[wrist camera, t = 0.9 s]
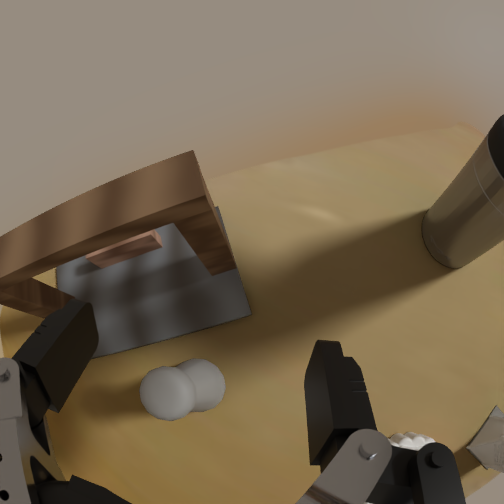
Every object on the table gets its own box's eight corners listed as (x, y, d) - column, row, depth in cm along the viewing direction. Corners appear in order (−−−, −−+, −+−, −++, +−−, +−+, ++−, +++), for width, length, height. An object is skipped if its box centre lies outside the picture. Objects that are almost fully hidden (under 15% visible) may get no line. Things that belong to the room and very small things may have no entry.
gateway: (219, 209, 39) (181, 107, 22) (251, 314, 34) (226, 267, 17) (59, 267, 38) (-28, 215, 21) (71, 363, 33) (-34, 348, 16)
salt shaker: (170, 391, 31) (114, 402, 19) (192, 349, 33) (146, 341, 21) (214, 417, 30) (178, 446, 18) (238, 374, 32) (214, 383, 20)
